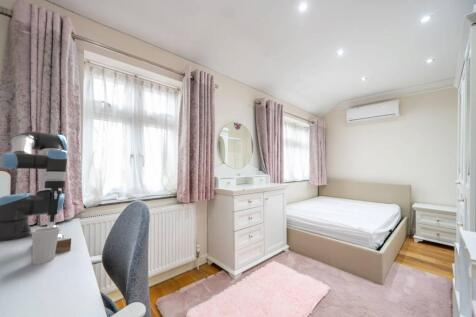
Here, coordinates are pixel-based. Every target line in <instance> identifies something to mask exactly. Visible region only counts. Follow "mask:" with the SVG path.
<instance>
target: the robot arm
mask: <svg viewBox="0 0 476 317" xmlns="http://www.w3.org/2000/svg"><path fill="white" fill-rule="evenodd" d="M36 138H37V139H36ZM10 140H11V141H10V145H11V146H12V147H11V151H10V152H4V153H3V154H2V159H1V167H2V168H3V169H4V168H5V169H13V170H15V169H25V170H27V169H29V170H33V169H35V170H40V180H39V181H40V182H39V189H38V190H37V191H35V194H31V193H30V192H25V193H16V194H10V195H3V196H0V242H3V241H4V240H5V241H10V240H16V239H21V238H25V237H28V236H30V235H32V229H31V227H30V223H29V217H31V216H40V215H41V216H42V215H46V216H47V224H46V225H47V226H46V228H47V227H53V226H56V221H57V214H58V213H61V211H62V209H63V206H64V202H65V198H66V197H65V196H66V194H65V193H63V192H62V189H64V188H65V187H66V181H65V180H66V178H67V177H66V176H67V164H68V158H69V157H68V155H69V153H68V151H67V148H68V147H67V145H68V142H67V139H66V137H65V135H62V134H57V133H46V132H38V131H24V132H21V133H18V134H16V135H14V136H13V137H12V138H11V139H10ZM33 150H35V151H36V150H37V151H39V154H35V153H32V151H33ZM5 241H4V242H5Z"/></svg>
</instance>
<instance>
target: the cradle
mask: <svg viewBox="0 0 476 317" xmlns="http://www.w3.org/2000/svg"><path fill="white" fill-rule="evenodd" d="M71 248H72V238H71V237H70V238H69V237H68V238H66V237H65V239H64V240H58V241H57V245H56V251H55V255H56V254H58V253H65V252H68V251H71Z"/></svg>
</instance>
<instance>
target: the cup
mask: <svg viewBox="0 0 476 317" xmlns="http://www.w3.org/2000/svg"><path fill="white" fill-rule="evenodd" d="M59 230H60V231H61V226H59V227H47V226H46V227H43V228H38V229H34V230H33V229H32V230H31V240H32V244H31V245H32V255H31V256H32V257H31V258H32V259H31V264H32V265H42V264H45V263H46V262H47V263H49V262H52V261H54V260H55V257H56V254H55V251H56V245H57V240H58V235H59V233H60V231H59Z"/></svg>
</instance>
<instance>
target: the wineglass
mask: <svg viewBox="0 0 476 317" xmlns="http://www.w3.org/2000/svg"><path fill="white" fill-rule="evenodd" d="M53 227H60V226H59V225H55V226H53ZM60 231H61V229H60V230H59V235H58V240H64V239H65V238H66V237H65V235H64V234H63V233H60ZM58 240H57V241H58Z"/></svg>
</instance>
